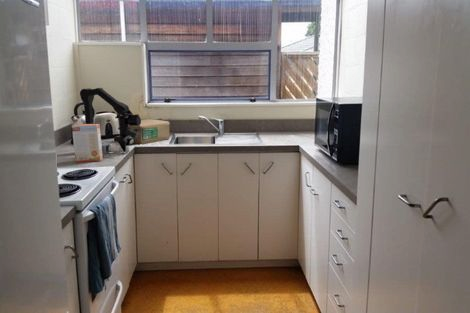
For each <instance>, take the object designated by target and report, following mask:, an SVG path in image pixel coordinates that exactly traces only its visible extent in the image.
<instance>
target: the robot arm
mask: <svg viewBox="0 0 470 313" xmlns="http://www.w3.org/2000/svg"><path fill="white" fill-rule="evenodd" d="M95 96H98V97H100V98H101V99H102V100H104V101H105V102H106V103H108V104H109V105H110V106H111V107H112V108H113V111H115V112H116V116H115V117H114V118H115V119H118V125H119V126H118V128H117V129H118V130H119V133H118V135H117V136H114V138H113V142H116V143H119V145H120V146H121V148H122V150H123V151H126V146H129V147H130V146H131V145H130V141H131V140H132V139H133V138H136V137H138V134H139V131H138V129H135V130H131V127H129V125H130V126H140V124H141V120H142V119H141V117H140V114H139V113H138V114H137V113H136V114H133V112H132V110H130V107H129V105H127V104H125V103H123V102H121V101H119V100H117V99H116V98H115V97H113V96H112V95H111V94H109V93H108V92H107V91H105V89H104V88H103V87H96V88H90V87H89V88H82V89H80V91H79V97H80V99H81V102H82V103H83V109H84V119H85V121H84V122H85V123H84V124H95V122H94V121H95V120H94V111H93V102H94V99H95ZM131 137H133V138H131Z"/></svg>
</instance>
